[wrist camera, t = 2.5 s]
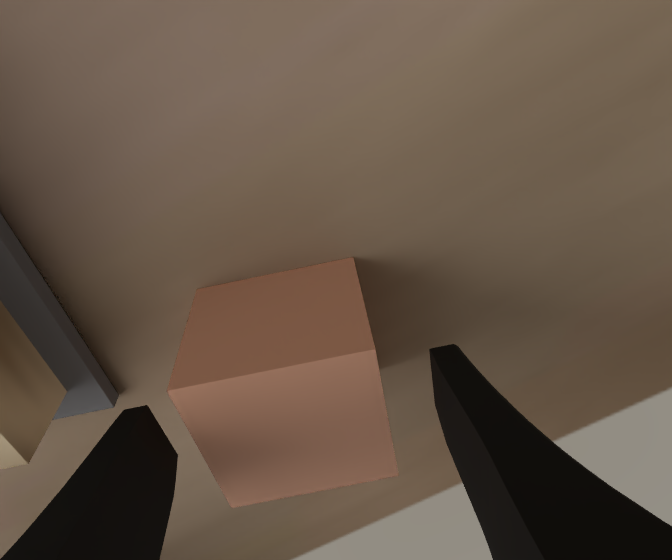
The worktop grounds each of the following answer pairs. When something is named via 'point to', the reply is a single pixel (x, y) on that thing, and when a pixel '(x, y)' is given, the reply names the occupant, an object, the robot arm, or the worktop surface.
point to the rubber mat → (51, 331)
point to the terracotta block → (284, 385)
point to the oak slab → (23, 394)
